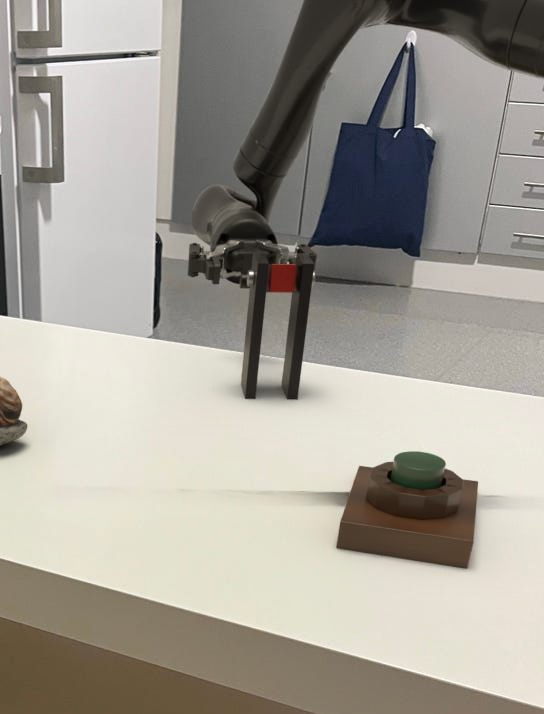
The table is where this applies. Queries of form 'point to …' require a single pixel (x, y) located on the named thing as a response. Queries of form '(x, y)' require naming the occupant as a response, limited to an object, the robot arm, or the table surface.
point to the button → (418, 470)
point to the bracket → (295, 327)
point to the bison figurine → (10, 414)
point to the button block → (410, 518)
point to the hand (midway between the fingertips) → (256, 275)
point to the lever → (276, 278)
